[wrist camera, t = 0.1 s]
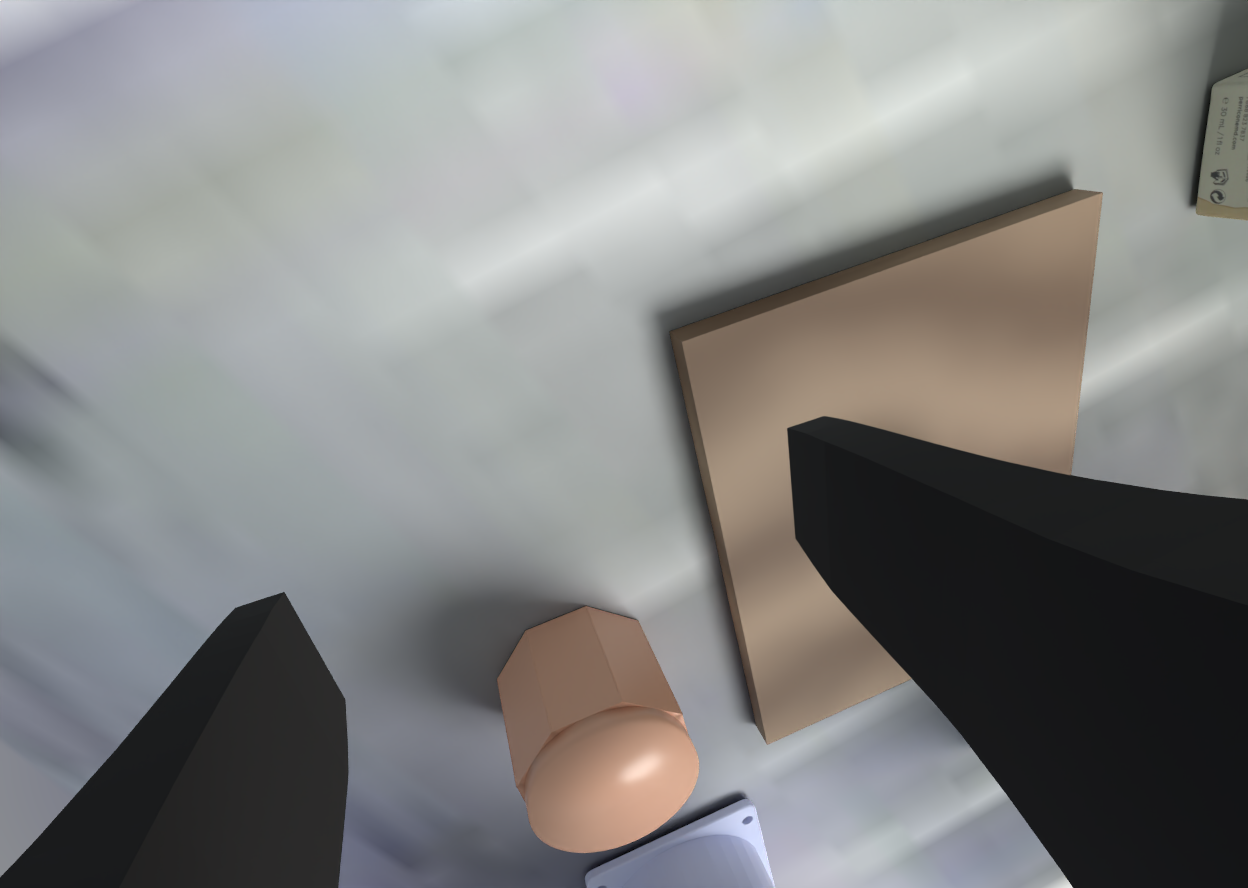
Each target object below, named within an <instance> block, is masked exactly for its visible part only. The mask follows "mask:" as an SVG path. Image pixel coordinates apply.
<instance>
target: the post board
mask: <svg viewBox="0 0 1248 888" xmlns="http://www.w3.org/2000/svg"><path fill="white" fill-rule="evenodd" d="M1102 196H1103V193H1102V192H1094V191H1086V190H1078V189H1074V190H1071V191H1068V192H1065V193H1062V194H1059V195H1057V196H1054V197H1051V198H1048V199H1045V200H1042V201H1039V202H1037V203H1034V204H1031V205H1028V206H1025V207H1022V208H1020V209H1017V210H1014V211H1011V212H1008V213H1005V214H1002V215H1000V216H997V217H994V218H991V219H988V220H985V221H983V222H980V223H977V224H974V225H971V226H968V227H965V228H963V229H960V230H957V231H954V232H951V233H948V234H946V235H943V236H940V237H937V238H934V239H931V240H928V241H926V242H923V243H920V244H917V245H914V246H911V247H909V248H906V249H903V250H900V251H897V252H894V253H891V254H889V255H886V256H883V257H880V258H877V259H874V260H872V261H869V262H866V263H863V264H860V265H857V266H855V267H852V268H849V269H846V270H843V271H840V272H837V273H835V274H832V275H829V276H826V277H823V278H820V279H818V280H815V281H812V282H809V283H806V284H803V285H800V286H798V287H795V288H792V289H789V290H786V291H783V292H781V293H778V294H775V295H772V296H769V297H766V298H763V299H761V300H758V301H755V302H752V303H749V304H746V305H744V306H741V307H738V308H735V309H732V310H729V311H726V312H724V313H721V314H718V315H715V316H712V317H709V318H707V319H704V320H701V321H698V322H695V323H692V324H689V325H687V326H684V327H681V328H678V329H675V330H672V331H670V332H669V333H670V337H671V342H672V346H673V351H674V355H675V360H676V365H677V369H678V374H679V378H680V383H681V387H682V392H683V396H684V401H685V405H686V410H687V414H688V419H689V423H690V428H691V433H692V437H693V442H694V446H695V451H696V455H697V460H698V464H699V469H700V473H701V478H702V482H703V487H704V491H705V496H706V501H707V505H708V510H709V514H710V519H711V523H712V528H713V532H714V537H715V541H716V546H717V550H718V555H719V559H720V564H721V569H722V573H723V578H724V582H725V587H726V591H727V596H728V600H729V605H730V609H731V614H732V618H733V623H734V627H735V632H736V637H737V641H738V646H739V650H740V655H741V659H742V664H743V668H744V673H745V677H746V682H747V686H748V691H749V695H750V700H751V705H752V709H753V714H754V718H755V723H756V726H757V728H758V730H759V731H760V733H761V735H762V736H763V738H764V740H765V742H766V743H767V745H768V744H770V743H772V742H775V741H777V740H779V739H781V738H783V737H786V736H788V735H790V734H792V733H794V732H796V731H799V730H801V729H803V728H805V727H807V726H810V725H812V724H814V723H816V722H818V721H821V720H823V719H825V718H827V717H829V716H832V715H834V714H836V713H838V712H840V711H842V710H845V709H847V708H849V707H851V706H853V705H856V704H858V703H860V702H862V701H864V700H867V699H869V698H871V697H873V696H875V695H878V694H880V693H882V692H884V691H886V690H889V689H891V688H893V687H895V686H897V685H899V684H902V683H904V682H906V681H908V680H910V679H912V678H911V677H910V676H909V675H908V674H907V673H906V672H905V671H904V670H903V669H902V667H901V666H900V665H899V664H898V663H897V662H896V661H895V660H894V659H893V658H892V657H891V656H890V654H889V653H888V652H887V651H886V650H885V649H884V648H883V647H882V646H881V645H880V644H879V643H878V641H877V640H876V639H875V638H874V637H873V636H872V635H871V634H870V633H869V632H868V631H867V630H866V628H865V627H864V626H863V625H862V624H861V623H860V622H859V621H858V620H857V619H856V617H855V616H854V615H853V614H852V613H851V612H850V611H849V610H848V609H847V608H846V606H845V605H844V604H843V603H842V602H841V601H840V600H839V599H838V597H837V596H836V595H835V594H834V593H833V592H832V591H831V589H830V588H829V587H828V585H827V584H826V582H825V581H824V580H823V578H822V577H821V575H820V574H819V573H818V571H817V570H816V568H815V567H814V566H813V564H812V563H811V561H810V560H809V558H808V557H807V555H806V554H805V552H804V551H803V549H802V548H801V546H800V545H799V543H798V542H797V540H796V539H795V527H794V514H793V501H792V488H791V475H790V461H789V448H788V435H787V428H789V427H792V426H795V425H798V424H801V423H804V422H807V421H810V420H813V419H816V418H819V417H822V416H828V417H833V418H839V419H843V420H848V421H852V422H856V423H860V424H864V425H868V426H872V427H876V428H880V429H883V430H887V431H891V432H894V433H898V434H902V435H905V436H909V437H913V438H916V439H920V440H924V441H928V442H931V443H935V444H939V445H942V446H946V447H950V448H954V449H958V450H962V451H965V452H969V453H973V454H977V455H981V456H985V457H990V458H994V459H998V460H1002V461H1006V462H1011V463H1015V464H1020V465H1025V466H1029V467H1034V468H1038V469H1043V470H1047V471H1052V472H1057V473H1062V474H1067V475H1071V471H1072V462H1073V453H1074V444H1075V435H1076V426H1077V417H1078V409H1079V400H1080V391H1081V382H1082V373H1083V364H1084V355H1085V347H1086V338H1087V329H1088V320H1089V311H1090V302H1091V293H1092V284H1093V276H1094V267H1095V258H1096V249H1097V240H1098V231H1099V222H1100V213H1101V205H1102Z"/></svg>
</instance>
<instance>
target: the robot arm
mask: <svg viewBox="0 0 1248 888" xmlns="http://www.w3.org/2000/svg"><path fill="white" fill-rule="evenodd" d="M787 435H788V448H789V461H790V475H791V488H792V501H793V514H794V527H795V539H796V540H797V542H798V543H799V545H800V546H801V548H802V549H803V551H804V552H805V554H806V555H807V557H808V558H809V560H810V561H811V563H812V564H813V566H814V567H815V568H816V570H817V571H818V573H819V574H820V575H821V577H822V578H823V580H824V581H825V582H826V584H827V585H828V587H829V588H830V589H831V591H832V592H833V593H834V594H835V595H836V596H837V597H838V599H839V600H840V601H841V602H842V603H843V604H844V605H845V606H846V608H847V609H848V610H849V611H850V612H851V613H852V614H853V615H854V616H855V617H856V619H857V620H858V621H859V622H860V623H861V624H862V625H863V626H864V627H865V628H866V630H867V631H868V632H869V633H870V634H871V635H872V636H873V637H874V638H875V639H876V640H877V641H878V643H879V644H880V645H881V646H882V647H883V648H884V649H885V650H886V651H887V652H888V653H889V654H890V656H891V657H892V658H893V659H894V660H895V661H896V662H897V663H898V664H899V665H900V666H901V667H902V669H903V670H904V671H905V672H906V673H907V674H908V675H909V676H910V677H911V678H912V679H913V680H914V682H915V683H916V684H917V685H918V686H919V687H920V688H921V689H922V690H923V691H924V692H925V693H926V695H927V696H928V697H929V698H930V699H931V700H932V701H933V702H934V703H935V704H936V705H937V707H938V708H939V709H940V710H941V711H942V712H943V714H944V715H945V716H946V717H947V718H948V719H949V721H950V722H951V723H952V724H953V725H954V727H955V728H956V729H957V730H958V731H959V732H960V734H961V735H962V736H963V738H964V739H965V740H966V742H967V743H968V744H969V745H970V747H971V748H972V749H973V751H974V752H975V753H976V755H977V756H978V757H979V759H980V760H981V761H982V763H983V764H984V765H985V767H986V768H987V769H988V771H989V772H990V773H991V775H992V776H993V777H994V778H995V780H996V781H997V782H998V784H999V785H1000V786H1001V788H1002V789H1003V790H1004V792H1005V793H1006V794H1007V796H1008V797H1009V798H1010V800H1011V801H1012V802H1013V804H1014V805H1015V807H1016V808H1017V809H1018V811H1019V812H1020V814H1021V815H1022V816H1023V818H1024V819H1025V821H1026V822H1027V823H1028V825H1029V826H1030V827H1031V829H1032V830H1033V832H1034V833H1035V834H1036V836H1037V837H1038V839H1039V840H1040V841H1041V843H1042V844H1043V846H1044V847H1045V848H1046V850H1047V851H1048V852H1049V854H1050V855H1051V857H1052V858H1053V859H1054V861H1055V862H1056V864H1057V865H1058V866H1059V868H1060V869H1061V871H1062V872H1063V873H1064V875H1065V876H1066V878H1067V879H1068V881H1069V882H1070V884H1071V885H1072V887H1073V888H1248V500H1246V499H1236V498H1226V497H1216V496H1205V495H1197V494H1189V493H1181V492H1173V491H1165V490H1158V489H1151V488H1145V487H1138V486H1132V485H1126V484H1119V483H1113V482H1106V481H1100V480H1094V479H1088V478H1083V477H1077V476H1072V475H1067V474H1062V473H1057V472H1052V471H1047V470H1043V469H1038V468H1034V467H1029V466H1025V465H1020V464H1015V463H1011V462H1006V461H1002V460H998V459H994V458H990V457H985V456H981V455H977V454H973V453H969V452H965V451H962V450H958V449H954V448H950V447H946V446H942V445H939V444H935V443H931V442H928V441H924V440H920V439H916V438H913V437H909V436H905V435H902V434H898V433H894V432H891V431H887V430H883V429H880V428H876V427H872V426H868V425H864V424H860V423H856V422H852V421H848V420H843V419H839V418H833V417H828V416H822V417H819V418H816V419H813V420H810V421H807V422H804V423H801V424H798V425H795V426H792V427H789V428H787ZM347 785H348V738H347V721H346V704H345V698H344V696H343V695H342V693H341V691H340V689H339V688H338V686H337V684H336V682H335V681H334V679H333V677H332V675H331V674H330V672H329V670H328V668H327V666H326V665H325V663H324V661H323V659H322V658H321V656H320V654H319V652H318V651H317V649H316V647H315V645H314V644H313V642H312V640H311V638H310V636H309V635H308V633H307V631H306V629H305V628H304V626H303V624H302V622H301V621H300V619H299V617H298V615H297V614H296V612H295V610H294V608H293V606H292V605H291V603H290V601H289V599H288V598H287V596H286V594H285V592H283V593H280V594H277V595H274V596H270V597H267V598H264V599H261V600H258V601H255V602H252V603H249V604H246V605H243V606H240V607H237V608H235V609H234V610H233V611H232V612H231V613H230V614H229V615H228V616H227V617H226V618H225V619H224V621H223V622H222V623H221V624H220V625H219V626H218V627H217V628H216V630H215V631H214V632H213V633H212V634H211V636H210V637H209V638H208V639H207V640H206V641H205V643H204V644H203V645H202V646H201V647H200V649H199V650H198V651H197V652H196V654H195V655H194V656H193V657H192V658H191V660H190V661H189V662H188V663H187V665H186V666H185V667H184V668H183V669H182V671H181V672H180V673H179V674H178V676H177V677H176V678H175V679H174V680H173V682H172V683H171V684H170V685H169V687H168V688H167V689H166V690H165V691H164V693H163V694H162V695H161V696H160V697H159V699H158V700H157V701H156V702H155V703H154V705H153V706H152V707H151V708H150V709H149V711H148V712H147V713H146V714H145V716H144V717H143V718H142V719H141V720H140V722H139V723H138V724H137V725H136V726H135V728H134V729H133V730H132V731H131V732H130V734H129V735H128V736H127V737H126V738H125V740H124V741H123V742H122V743H121V744H120V746H119V747H118V748H117V749H116V750H115V751H114V753H113V754H112V755H111V756H110V757H109V758H108V759H107V760H106V762H105V763H104V764H103V765H102V766H101V767H100V768H99V769H98V771H97V772H96V773H95V774H94V775H93V776H92V777H91V778H90V780H89V781H88V782H87V783H86V784H85V785H84V786H83V788H82V789H81V790H80V791H79V792H78V793H77V794H76V795H75V797H74V798H73V799H72V800H71V801H70V802H69V803H68V804H67V806H66V807H65V808H64V809H63V810H62V811H61V812H60V813H59V815H58V816H57V817H56V818H55V819H54V820H53V821H52V823H51V824H50V825H49V826H48V827H47V828H46V829H45V830H44V831H43V833H42V834H41V835H40V836H39V837H38V838H37V839H36V840H35V841H34V842H33V844H32V845H31V846H30V847H29V848H28V849H27V850H26V851H25V852H24V853H23V854H22V855H21V856H20V857H19V859H18V860H17V861H16V862H15V863H14V864H13V865H12V866H11V867H10V868H9V869H8V870H7V871H6V872H5V873H4V874H3V875H2V876H1V877H0V888H338V883H339V873H340V863H341V852H342V842H343V831H344V820H345V809H346V797H347ZM585 882H586V886H587V888H775V885H774V881H773V877H772V873H771V869H770V865H769V861H768V857H767V853H766V849H765V845H764V841H763V836H762V832H761V828H760V824H759V820H758V816H757V812H756V808H755V806H754V804H753V802H752V801H751V800H749V799H743V800H740V801H738V802H736V803H734V804H731V805H729V806H727V807H725V808H723V809H721V810H719V811H716V812H714V813H712V814H710V815H708V816H706V817H704V818H701V819H699V820H697V821H695V822H693V823H691V824H689V825H686V826H684V827H682V828H680V829H678V830H676V831H673V832H671V833H669V834H667V835H665V836H663V837H661V838H658V839H656V840H654V841H652V842H650V843H648V844H646V845H643V846H641V847H639V848H637V849H635V850H633V851H631V852H628V853H626V854H624V855H622V856H620V857H618V858H616V859H613V860H611V861H609V862H607V863H605V864H603V865H601V866H598V867H596V868H594V869H592V870H591V871H589V872H588V873H587V874H586V876H585Z"/></svg>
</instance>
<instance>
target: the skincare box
mask: <svg viewBox="0 0 1248 888" xmlns="http://www.w3.org/2000/svg"><path fill="white" fill-rule="evenodd" d="M1196 213H1197V214H1198V215H1203V216H1211V217H1221V218H1230V219H1239V220H1248V69H1246V70H1244V71H1241V72H1239V73H1237V74H1235V75H1232V76H1230V77H1228V78H1225V79H1223V80H1221V81H1219V82H1217V83H1215V84H1214V85H1213V87H1212V91H1211V101H1210V108H1209V115H1208V121H1207V129H1206V135H1205V142H1204V149H1203V158H1202V165H1201V173H1200V181H1199V190H1198V199H1197V205H1196Z"/></svg>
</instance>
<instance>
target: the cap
mask: <svg viewBox="0 0 1248 888" xmlns="http://www.w3.org/2000/svg"><path fill="white" fill-rule="evenodd" d="M497 682H498V688H499V694H500V699H501V705H502V710H503V716H504V721H505V727H506V732H507V738H508V743H509V749H510V754H511V760H512V766H513V771H514V777H515V782H516V787H517V788H518V790H519V792H520V794H521V796H522V797H523V799H524V801H525V803H526V807H527V812H528V817H529V823H530V825H531V828H532V830H533V831H534V833H535V834H536V836H537V837H538V838H539V839H540V840H542V841H543V842H544V843H546V844H547V845H549V846H551V847H554V848H556V849H559V850H563V851H567V852H574V853H591V852H600V851H606V850H610V849H614V848H617V847H620V846H623V845H626V844H629V843H631V842H634V841H636V840H638V839H640V838H642V837H644V836H646V835H648V834H649V833H651V832H653V831H654V830H656V829H657V828H659V827H660V826H661V825H663V824H664V823H665V822H667V821H668V820H669V819H670V818H671V817H672V816H673V815H674V814H675V813H676V812H677V811H678V810H679V809H680V808H681V807H682V806H683V804H684V803H685V802H686V801H687V799H688V797H689V796H690V794H691V793H692V791H693V789H694V787H695V784H696V781H697V778H698V773H699V760H698V755H697V752H696V750H695V748H694V746H693V743H692V741H691V739H690V737H689V735H688V732H687V729H686V725H685V722H684V719H683V715H682V712H681V710H680V707H679V705H678V703H677V701H676V699H675V697H674V695H673V693H672V691H671V688H670V686H669V684H668V682H667V680H666V678H665V676H664V674H663V672H662V670H661V667H660V665H659V663H658V661H657V659H656V657H655V655H654V653H653V651H652V649H651V646H650V644H649V642H648V640H647V638H646V636H645V634H644V632H643V630H642V628H641V625H640V623H639V621H638V620H634V619H630V618H627V617H623V616H620V615H616V614H613V613H609V612H605V611H602V610H598V609H595V608H591V607H588V606H585V607H582V608H580V609H578V610H575V611H573V612H570V613H568V614H565V615H563V616H560V617H558V618H555V619H553V620H550V621H548V622H546V623H543V624H541V625H538V626H536V627H533V628H531V629H528V630H526V631H525V633H524V634H523V636H522V638H521V639H520V641H519V643H518V644H517V646H516V648H515V650H514V651H513V653H512V655H511V656H510V658H509V660H508V661H507V663H506V665H505V666H504V668H503V670H502V672H501V673H500V675H499V677H498V678H497Z"/></svg>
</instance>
